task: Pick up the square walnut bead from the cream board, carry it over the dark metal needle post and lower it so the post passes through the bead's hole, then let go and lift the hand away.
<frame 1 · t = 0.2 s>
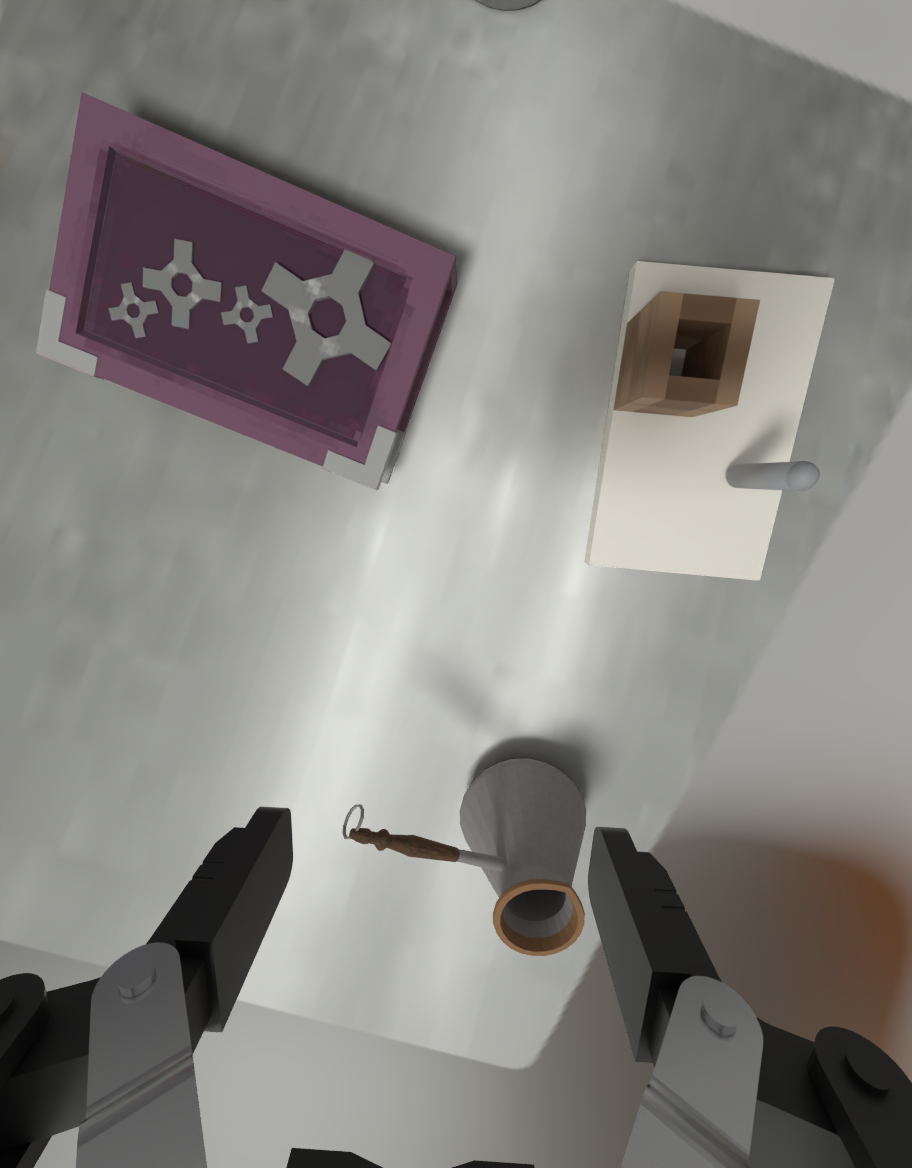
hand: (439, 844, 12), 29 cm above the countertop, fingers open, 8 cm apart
book: (271, 330, 36), on the countertop
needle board: (693, 433, 36), on the countertop
walnut bead: (660, 371, 34), point 1 cm above the countertop, touching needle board
coffee pot: (478, 768, 44), on the countertop
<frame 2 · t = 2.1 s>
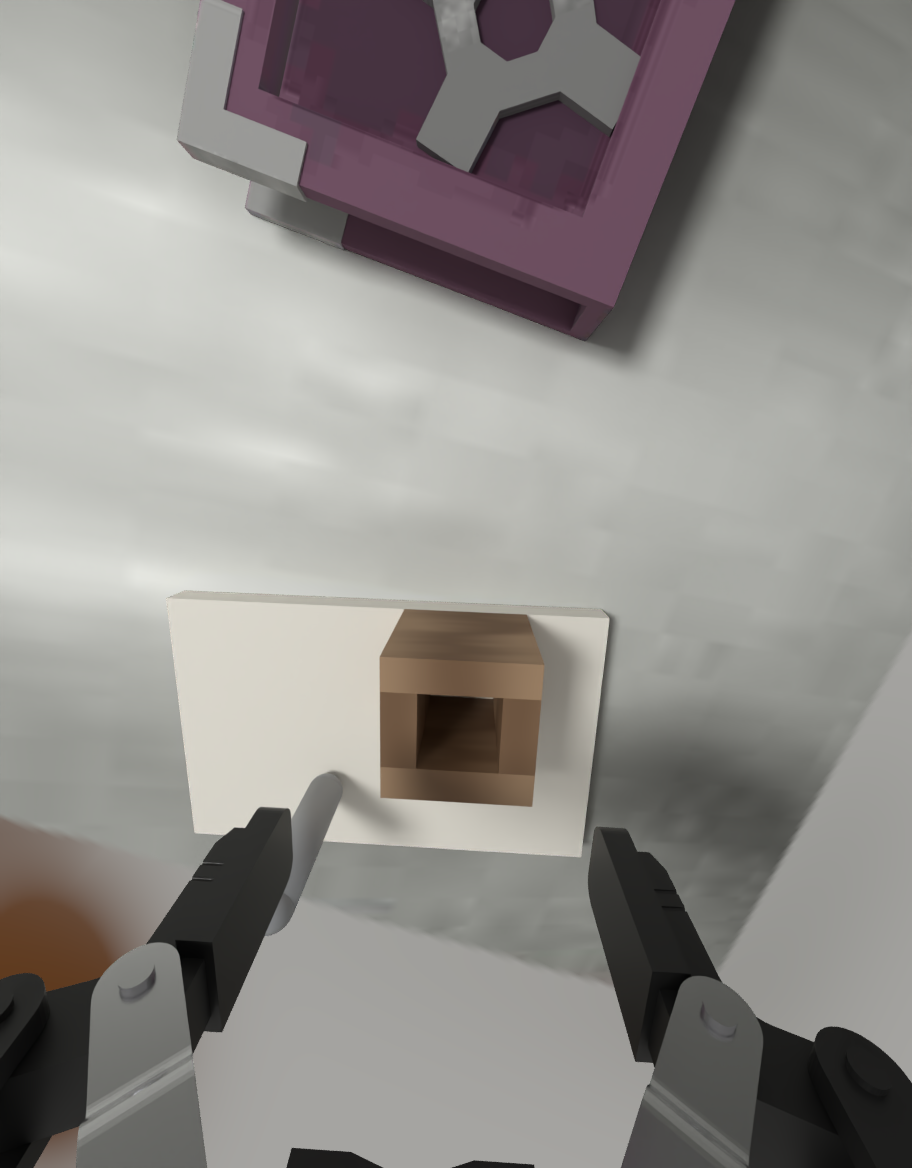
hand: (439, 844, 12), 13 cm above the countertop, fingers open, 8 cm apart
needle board: (389, 719, 26), on the countertop
walnut bead: (463, 668, 23), point 1 cm above the countertop, touching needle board
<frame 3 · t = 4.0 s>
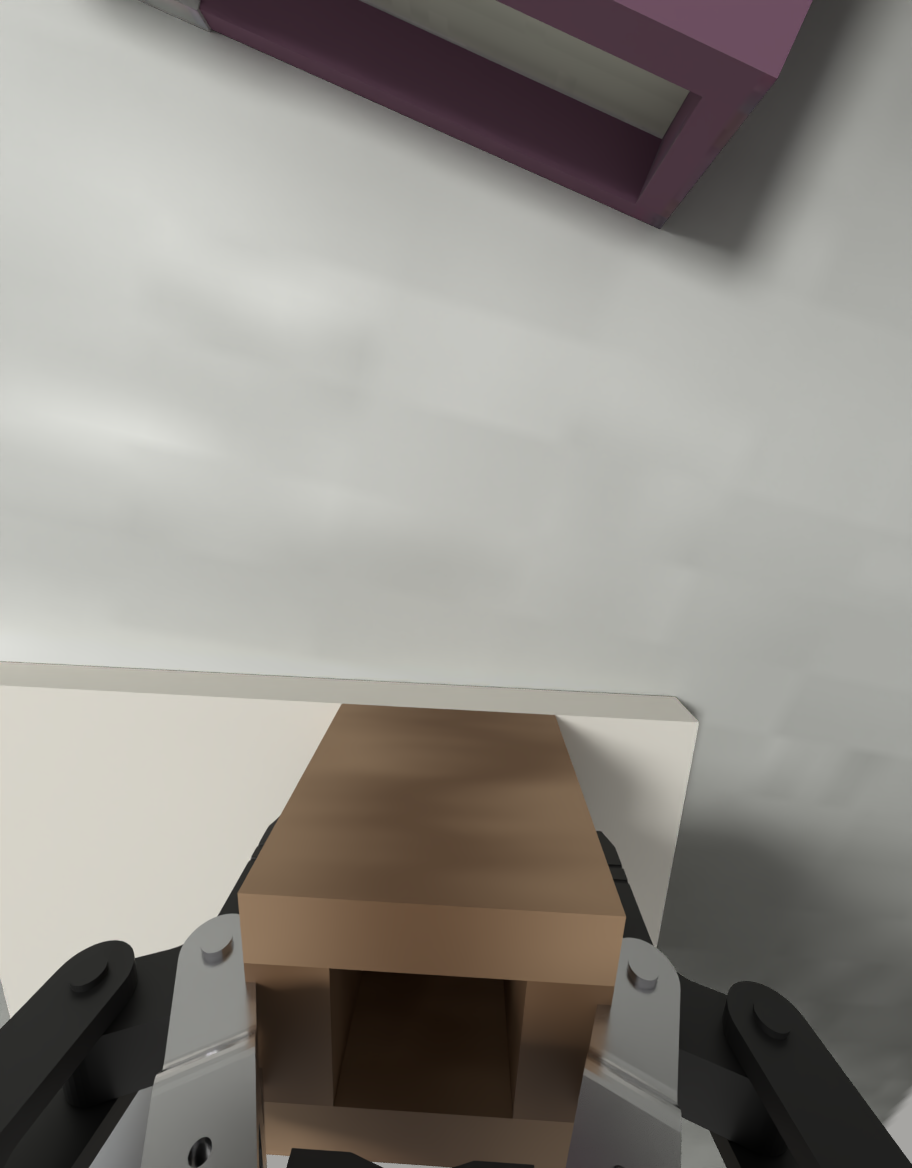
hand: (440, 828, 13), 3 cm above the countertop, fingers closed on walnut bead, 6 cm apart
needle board: (328, 862, 16), on the countertop
walnut bead: (444, 800, 14), point 2 cm above the countertop, touching gripper, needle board
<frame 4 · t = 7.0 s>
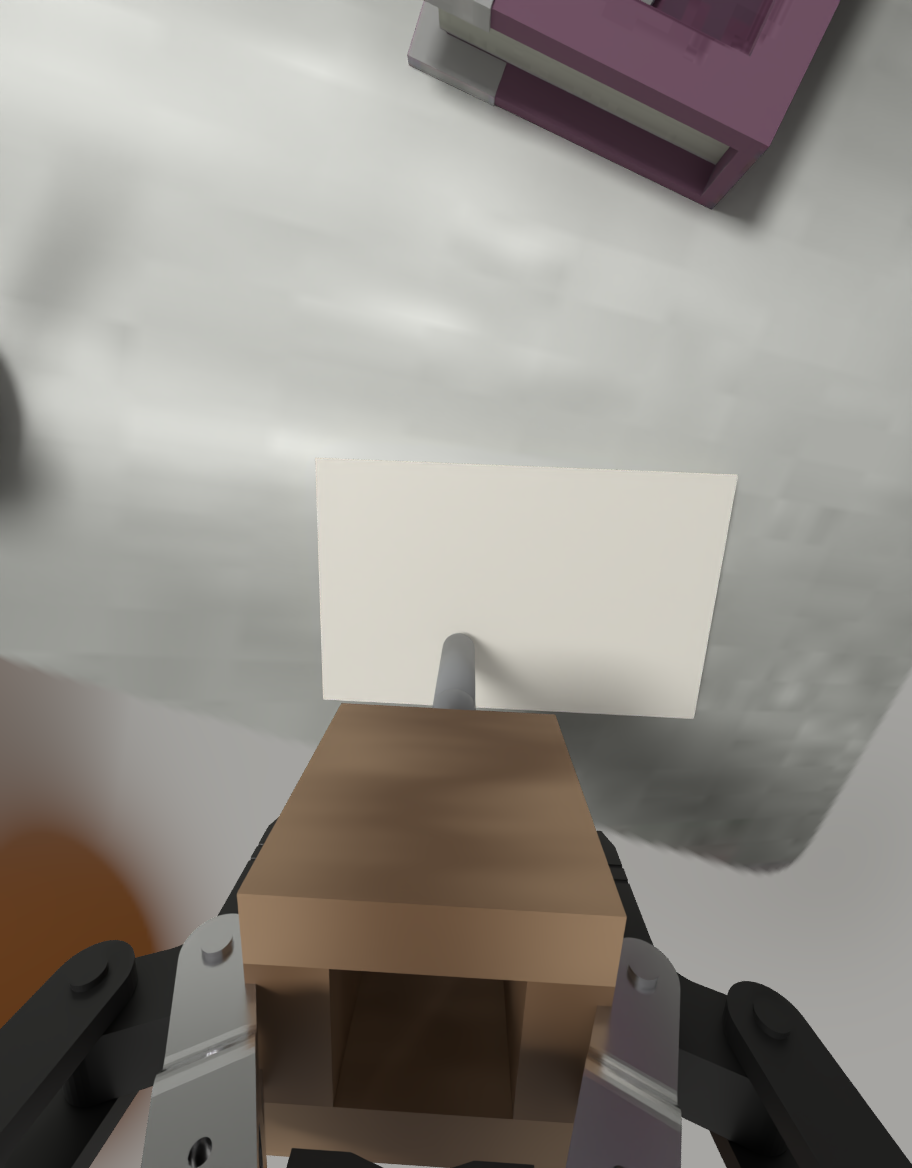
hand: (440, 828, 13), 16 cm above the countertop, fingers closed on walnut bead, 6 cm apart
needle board: (512, 588, 27), on the countertop
walnut bead: (443, 800, 14), point 15 cm above the countertop, touching gripper
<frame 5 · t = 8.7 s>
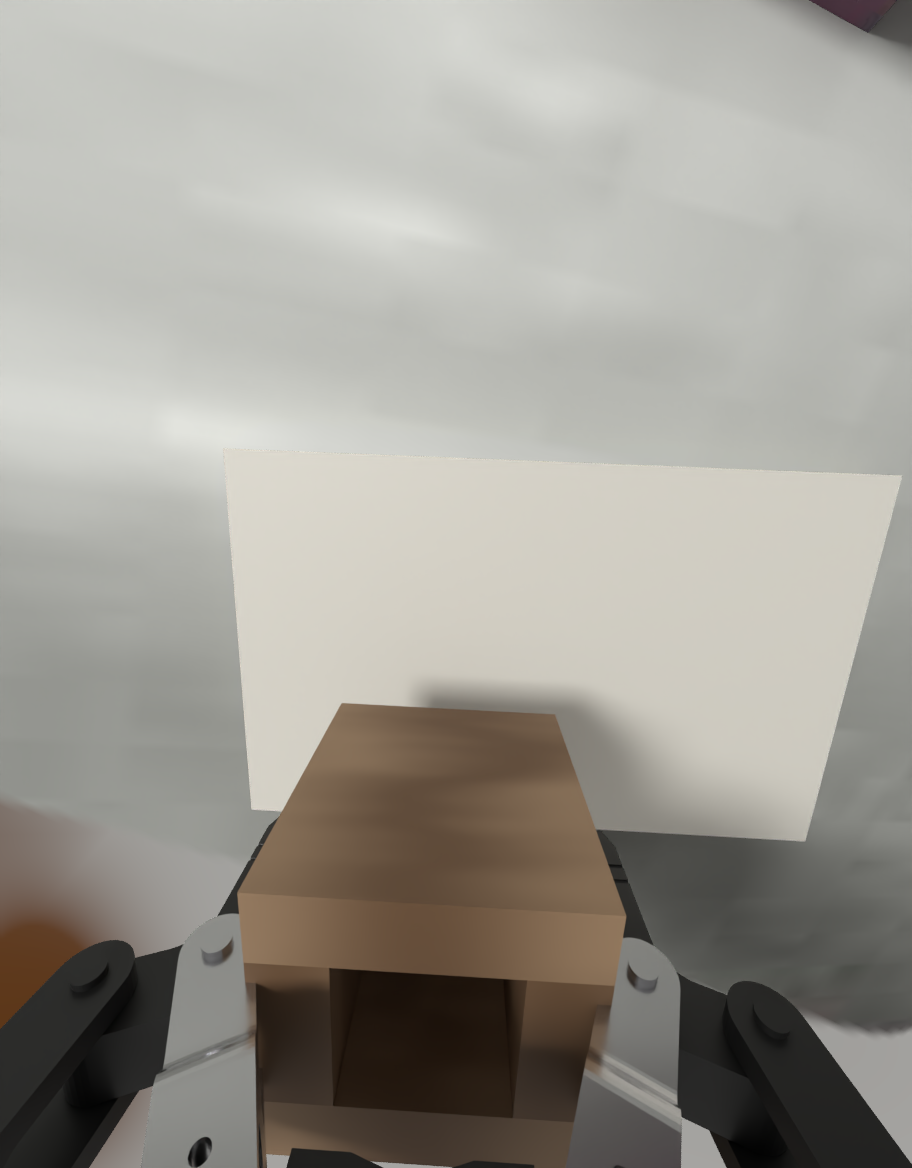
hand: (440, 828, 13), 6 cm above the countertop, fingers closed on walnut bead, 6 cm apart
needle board: (533, 646, 18), on the countertop
walnut bead: (443, 800, 14), point 5 cm above the countertop, touching gripper
when the fingers open (4 cm above the countertop, at t = 10.2 s): walnut bead drops 1 cm, resting on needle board.
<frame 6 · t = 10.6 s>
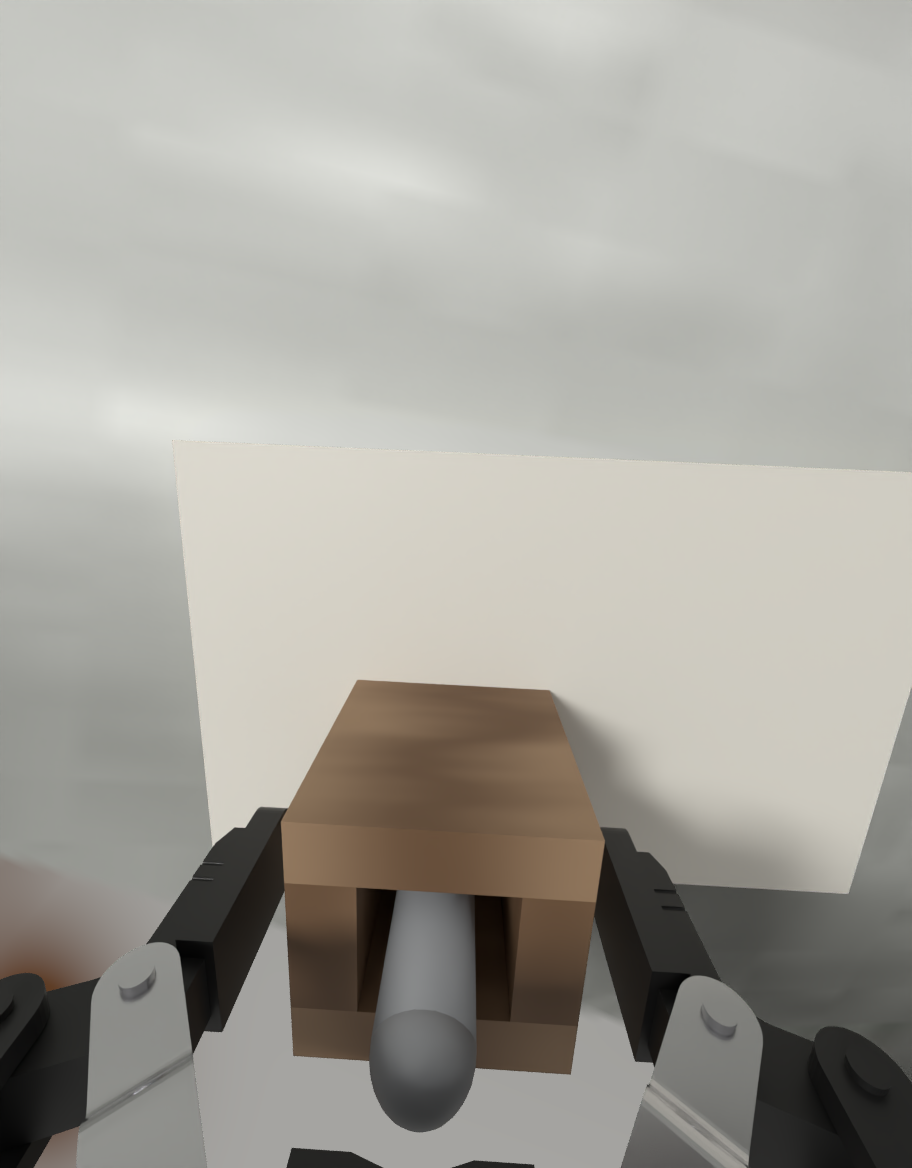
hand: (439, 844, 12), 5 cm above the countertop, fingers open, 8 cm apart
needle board: (538, 670, 16), on the countertop
walnut bead: (448, 769, 15), point 1 cm above the countertop, touching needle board
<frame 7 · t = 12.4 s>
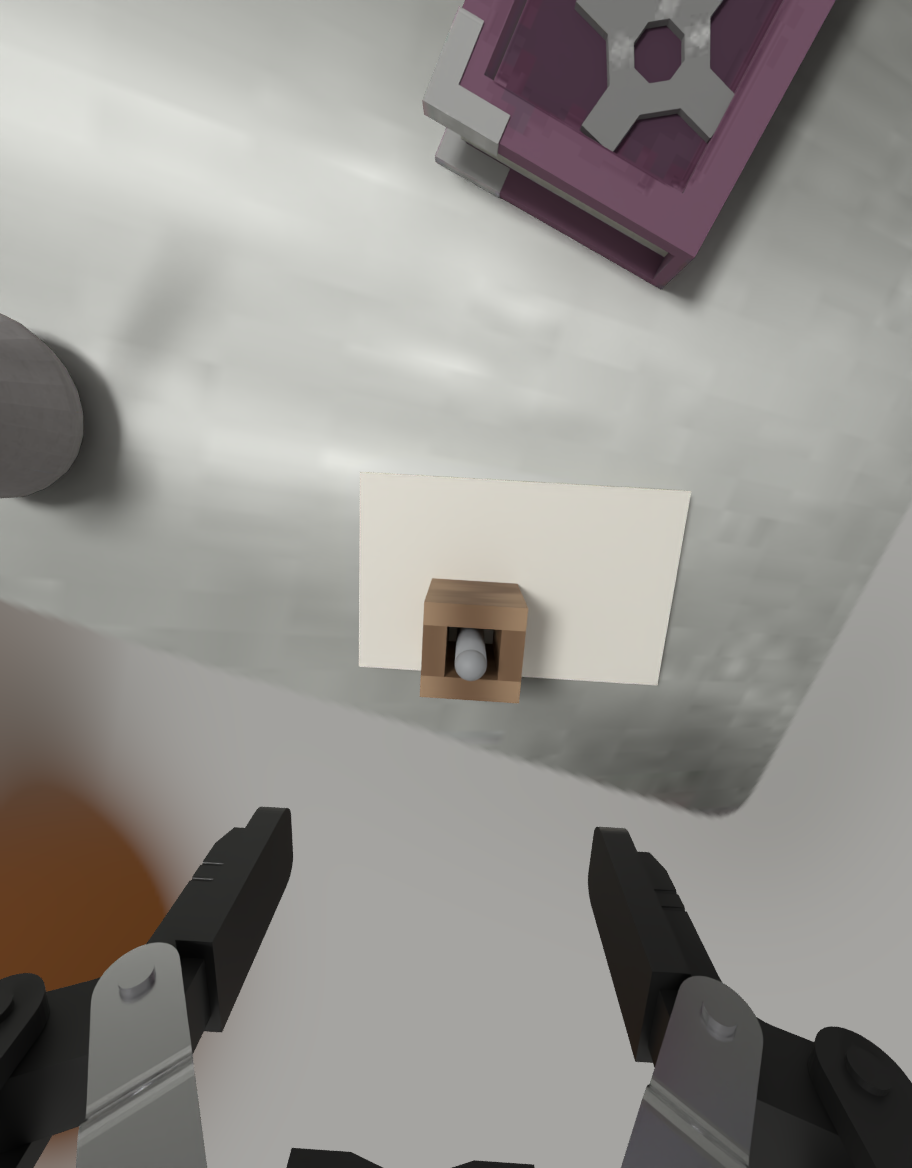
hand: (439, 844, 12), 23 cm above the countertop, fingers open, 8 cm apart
book: (654, 0, 26), on the countertop
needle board: (513, 578, 34), on the countertop
walnut bead: (471, 621, 33), point 1 cm above the countertop, touching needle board
coffee pot: (55, 347, 31), on the countertop
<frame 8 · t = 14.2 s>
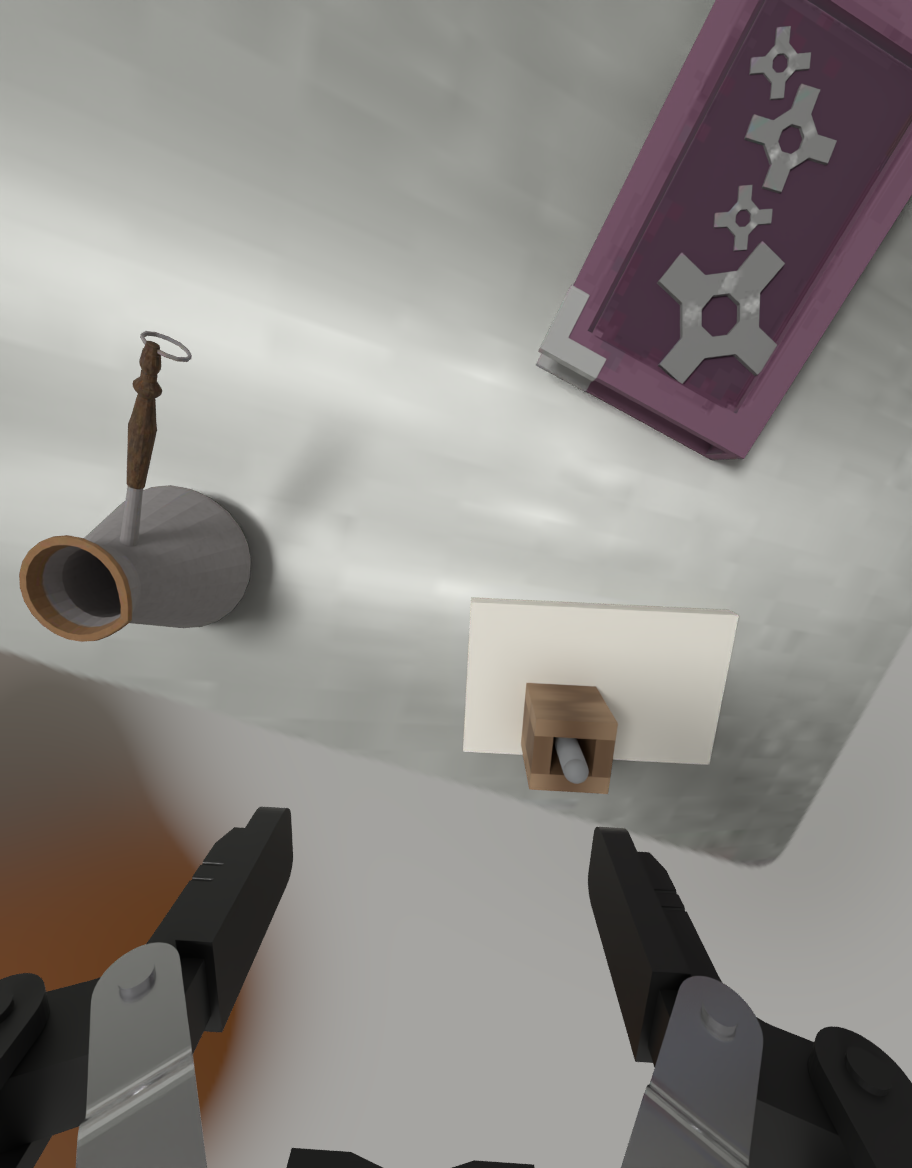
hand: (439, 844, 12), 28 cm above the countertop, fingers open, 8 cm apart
book: (711, 249, 34), on the countertop
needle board: (590, 679, 41), on the countertop
walnut bead: (557, 715, 40), point 1 cm above the countertop, touching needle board
coffee pot: (224, 503, 38), on the countertop
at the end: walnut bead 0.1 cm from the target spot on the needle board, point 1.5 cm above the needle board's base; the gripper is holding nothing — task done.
